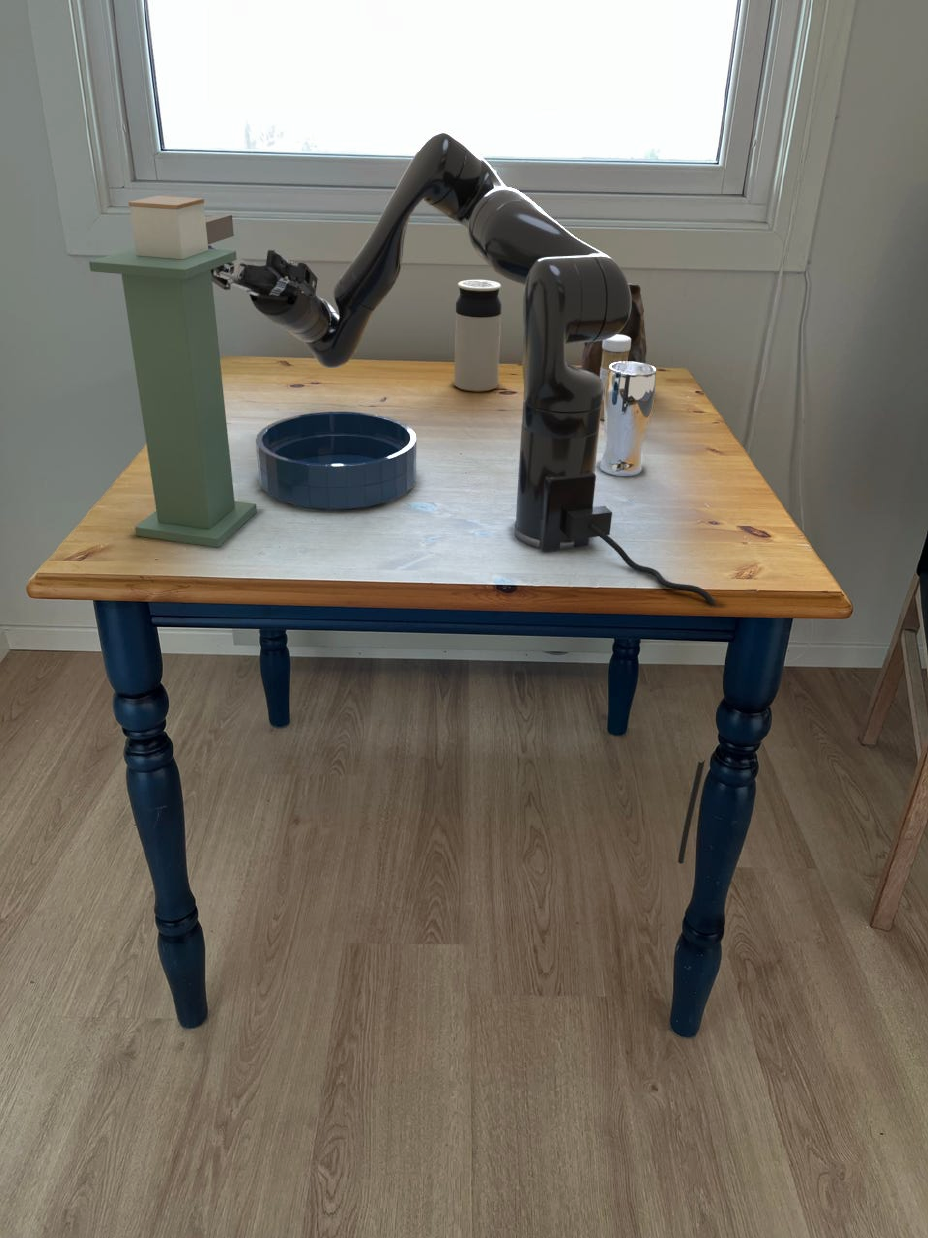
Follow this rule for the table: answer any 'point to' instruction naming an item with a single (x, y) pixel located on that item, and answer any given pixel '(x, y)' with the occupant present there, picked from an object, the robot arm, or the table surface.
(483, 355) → the travel mug
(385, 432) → the bowl
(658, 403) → the table surface
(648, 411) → the beer glass
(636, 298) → the owl
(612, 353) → the sprinkles bottle
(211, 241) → the mallet with brown handle
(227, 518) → the stand
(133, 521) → the table surface
